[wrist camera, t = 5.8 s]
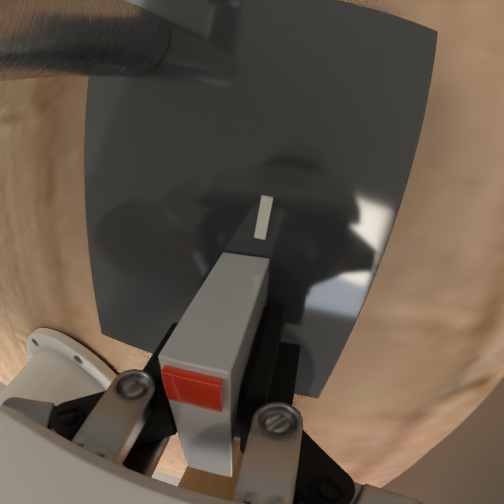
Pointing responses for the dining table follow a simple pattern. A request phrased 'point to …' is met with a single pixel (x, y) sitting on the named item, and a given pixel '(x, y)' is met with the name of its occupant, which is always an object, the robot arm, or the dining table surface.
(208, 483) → the coffee cup
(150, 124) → the base
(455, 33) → the dining table surface
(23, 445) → the robot arm
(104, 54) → the spout
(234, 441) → the tap handle
